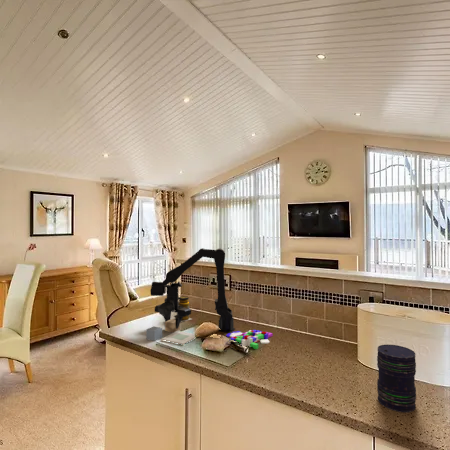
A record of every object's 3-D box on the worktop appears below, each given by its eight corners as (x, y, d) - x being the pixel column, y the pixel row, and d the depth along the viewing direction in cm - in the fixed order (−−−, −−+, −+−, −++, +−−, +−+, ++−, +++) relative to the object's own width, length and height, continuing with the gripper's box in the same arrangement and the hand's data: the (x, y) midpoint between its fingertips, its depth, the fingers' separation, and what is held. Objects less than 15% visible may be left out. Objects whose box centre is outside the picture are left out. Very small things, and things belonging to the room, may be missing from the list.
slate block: (162, 337, 146) (162, 328, 146) (154, 341, 142) (154, 331, 142) (153, 336, 148) (153, 326, 148) (146, 339, 144) (146, 329, 144)
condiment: (192, 319, 175) (192, 297, 175) (179, 322, 169) (179, 299, 169) (184, 316, 180) (184, 295, 180) (171, 319, 174) (171, 297, 174)
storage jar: (405, 394, 96) (405, 344, 96) (423, 413, 87) (423, 358, 87) (371, 393, 97) (371, 344, 97) (385, 411, 87) (385, 357, 87)
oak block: (179, 329, 157) (179, 320, 157) (173, 332, 153) (173, 323, 153) (171, 328, 160) (171, 319, 160) (165, 330, 155) (165, 321, 155)
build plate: (199, 337, 146) (199, 335, 146) (183, 345, 136) (183, 343, 136) (178, 333, 152) (178, 330, 152) (161, 340, 142) (161, 338, 142)
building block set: (246, 329, 159) (246, 320, 159) (281, 339, 145) (281, 329, 145) (210, 342, 141) (210, 332, 141) (245, 355, 127) (245, 344, 127)
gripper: (146, 296, 154) (146, 329, 154) (177, 301, 145) (177, 335, 145) (162, 292, 164) (162, 323, 164) (191, 296, 154) (191, 328, 154)
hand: (172, 327), depth 156 cm, fingers closed on oak block, 5 cm apart
